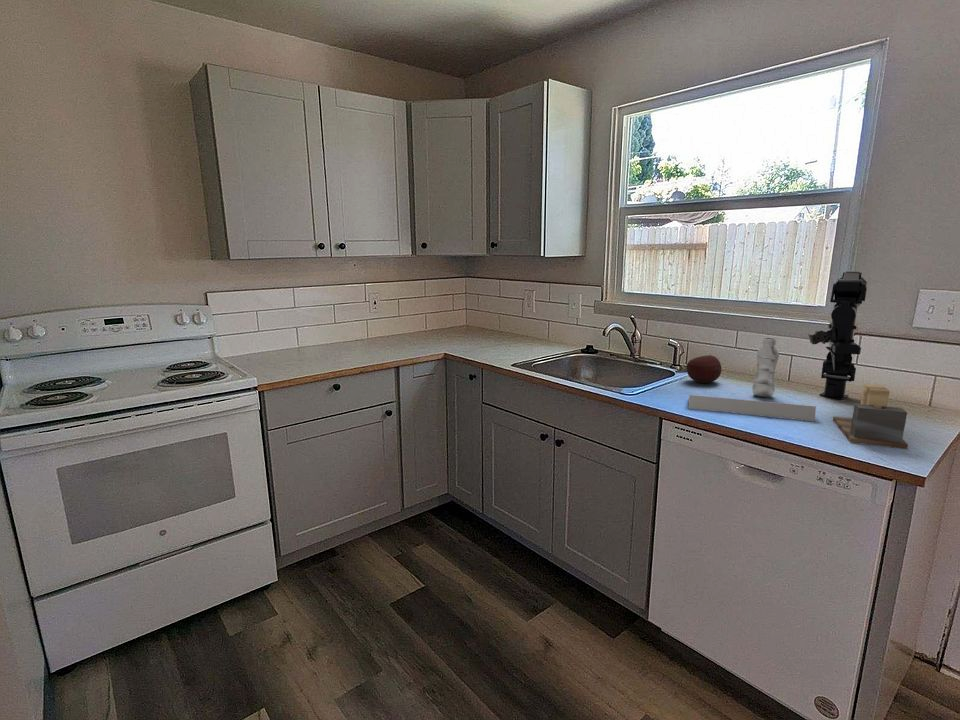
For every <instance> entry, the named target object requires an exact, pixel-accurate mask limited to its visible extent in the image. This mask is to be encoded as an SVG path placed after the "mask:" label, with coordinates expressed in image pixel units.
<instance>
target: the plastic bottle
mask: <svg viewBox="0 0 960 720" xmlns="http://www.w3.org/2000/svg"><path fill="white" fill-rule="evenodd" d="M776 339H777V338H774V337H763V338H762V343H761V344H762V346H761V347H760V348H758V350H757V351H756V370H755V371H756V373H755V378H754V382H753V384H752V387H751V389H752V391H751V392H752V394H753V395H754V396H756V397H761V398H770V397H772V396H773V395H774V393H775V390H776V389H775V374H776V368H777V365H778V361H779V358H780V352H779V350H778V349H777V347H776V344H777V343H776V341H777V340H776Z"/></svg>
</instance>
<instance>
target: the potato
mask: <svg viewBox="0 0 960 720" xmlns="http://www.w3.org/2000/svg"><path fill="white" fill-rule="evenodd" d="M686 373H687V375H688V377H689V378H690V379H691V380H693V381H695V382H697V383H700V384H710V383H713V382H715V381H717V380H718V379H719V377H720V376H721V374H722V363H721V362H720V360H719V359H718V358H717V357H716V356H715V355H711V354H710V355H700V356H696V357H695V358H692V359H690V360H689V361H688V362H687V364H686Z"/></svg>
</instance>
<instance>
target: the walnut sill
mask: <svg viewBox="0 0 960 720" xmlns="http://www.w3.org/2000/svg"><path fill="white" fill-rule="evenodd" d="M907 415H908V412H907V411H906V410H905V409H904V408H902V407H898V406H888V405H887V406H882V408H876V407H874V406H873V405H865V404H861V403H854V405H853V412H852V417H843V416H835V415H833V417H832V421H833V423H834V424H835V425H836V426H837V429H839V430H840V432H841V433H842V434H843V435H844V437H845V436H846V437H845V438H846V439H847V441H848V442H849V443H851V442H852V443H853V444H860V443H862V444H863V445H869V444H871V445H872V446H877V445H880V446H879V447H887V448H888V447H889V448H895V447H896V449H904V450H905V449H906V450H908V448H909V443H907V442H906V441H905V440H904V439H903V438H904V433H905V427H906V421H907ZM862 444H861V445H862ZM871 445H870V446H871Z"/></svg>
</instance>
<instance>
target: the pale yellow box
mask: <svg viewBox="0 0 960 720" xmlns="http://www.w3.org/2000/svg"><path fill="white" fill-rule="evenodd" d="M889 395H890V390H889V389H888V388H886V387H885V386H884V385H882V384H870V383H863V387H862V395H861V399H860V404H865V405H873V406H874V407H876V408H882V406H888V403H889V398H890V397H889Z"/></svg>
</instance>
